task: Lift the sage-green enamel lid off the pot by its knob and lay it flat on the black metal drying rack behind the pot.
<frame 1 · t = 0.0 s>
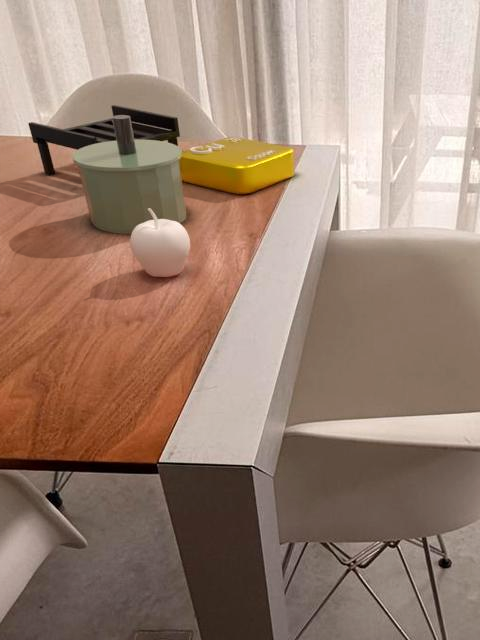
pot: (139, 217, 101), on the table
apple: (165, 274, 86), on the table
lid: (128, 156, 96), point 8 cm above the table, touching pot
rack: (114, 170, 120), on the table
element tile: (238, 179, 118), on the table
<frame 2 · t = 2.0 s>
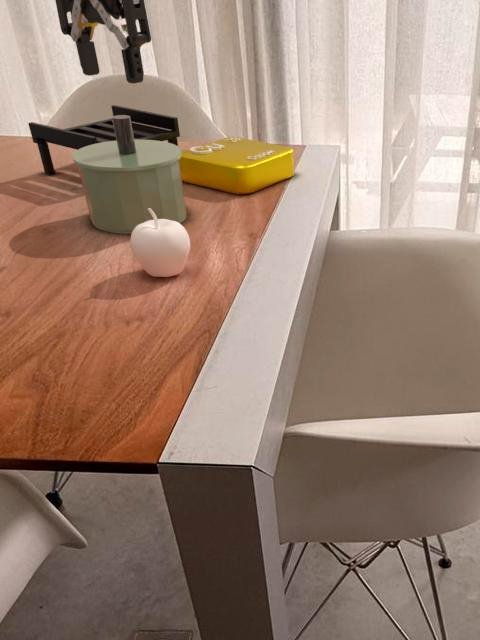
hand: (113, 78, 90), 18 cm above the table, tool pointing down, fingers open, 8 cm apart
nothing on the table moved.
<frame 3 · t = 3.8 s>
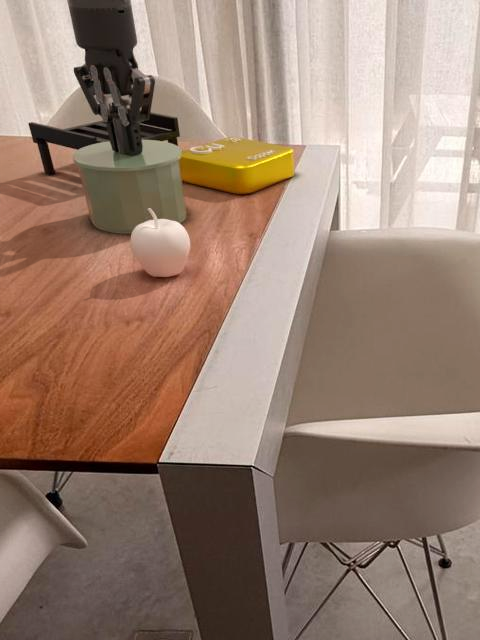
hand: (127, 151, 96), 9 cm above the table, tool pointing down, fingers closed on lid, 2 cm apart
lid: (128, 156, 96), point 9 cm above the table, touching gripper, pot
everything else where it was.
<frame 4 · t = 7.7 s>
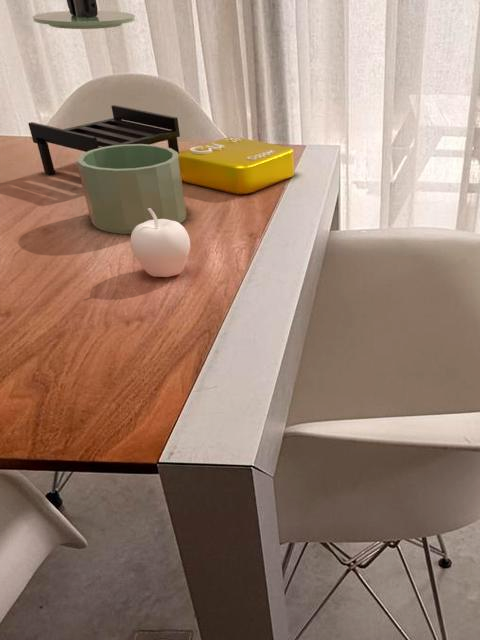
hand: (84, 15, 103), 23 cm above the table, tool pointing down, fingers closed on lid, 2 cm apart
lid: (85, 19, 104), point 22 cm above the table, touching gripper
everything else where it was.
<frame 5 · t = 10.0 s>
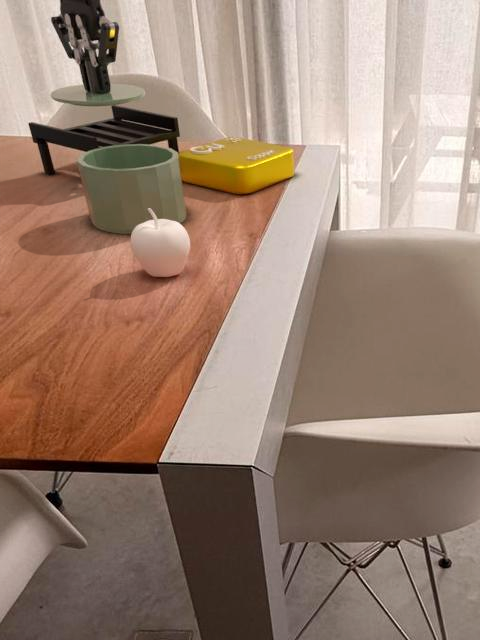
hand: (98, 91, 112), 12 cm above the table, tool pointing down, fingers closed on lid, 2 cm apart
lid: (99, 95, 112), point 12 cm above the table, touching gripper
everything else where it was.
when the fingers open (7 cm above the table, at t = 11.5 s): lid stays where it is, resting on rack.
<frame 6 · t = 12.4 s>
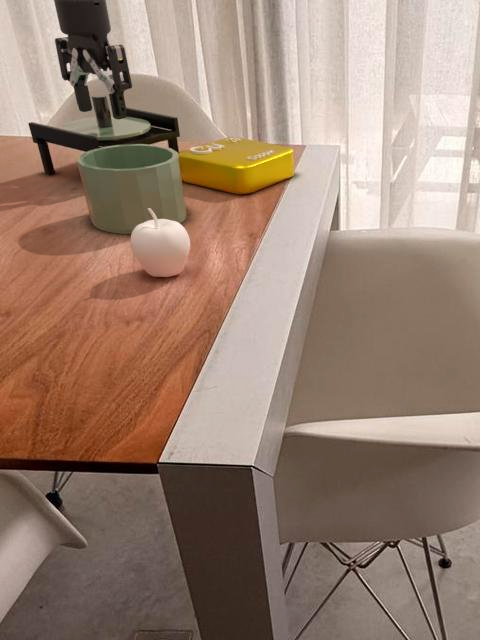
hand: (103, 114, 114), 9 cm above the table, tool pointing down, fingers open, 8 cm apart
lid: (106, 129, 115), point 7 cm above the table, touching rack
everything else where it was.
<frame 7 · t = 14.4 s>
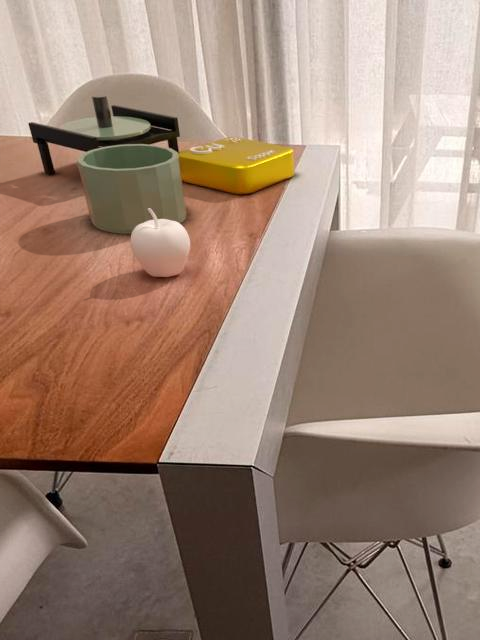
nothing on the table moved.
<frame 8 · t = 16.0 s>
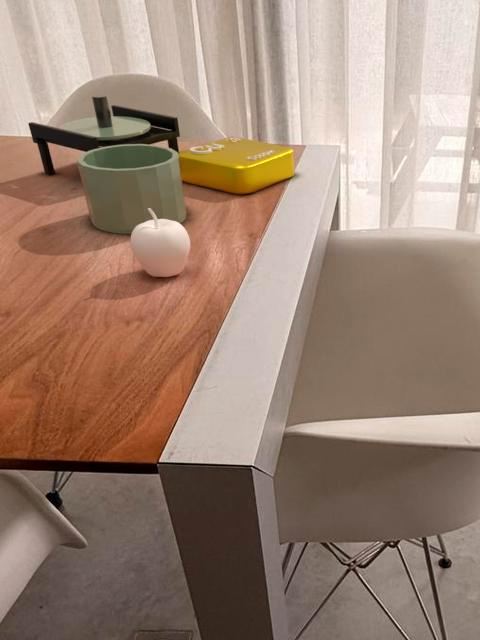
nothing on the table moved.
at the end: lid 0.0 cm off-centre on the rack, point 6.6 cm above the rack's base; lid tilted 0°; the gripper is holding nothing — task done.
